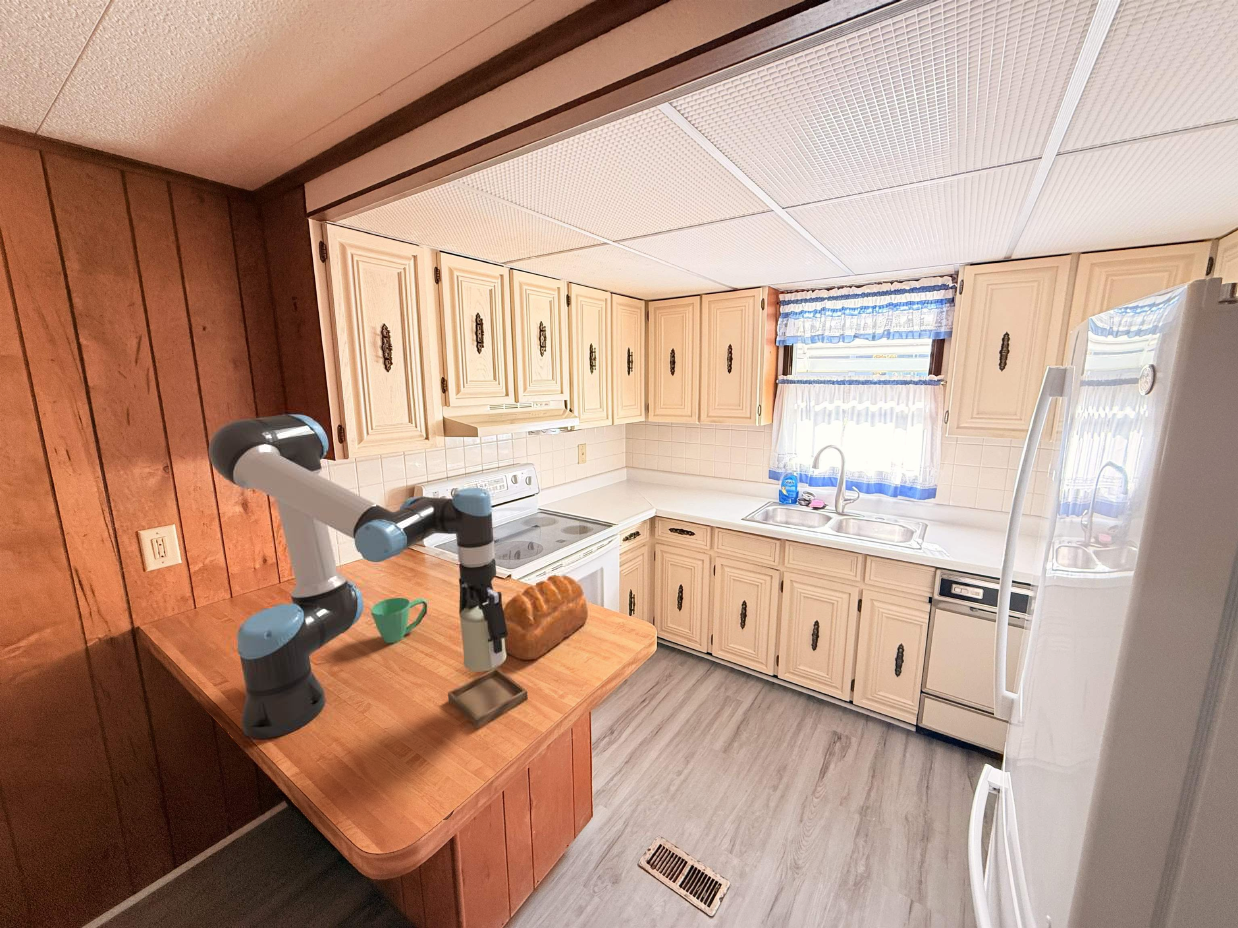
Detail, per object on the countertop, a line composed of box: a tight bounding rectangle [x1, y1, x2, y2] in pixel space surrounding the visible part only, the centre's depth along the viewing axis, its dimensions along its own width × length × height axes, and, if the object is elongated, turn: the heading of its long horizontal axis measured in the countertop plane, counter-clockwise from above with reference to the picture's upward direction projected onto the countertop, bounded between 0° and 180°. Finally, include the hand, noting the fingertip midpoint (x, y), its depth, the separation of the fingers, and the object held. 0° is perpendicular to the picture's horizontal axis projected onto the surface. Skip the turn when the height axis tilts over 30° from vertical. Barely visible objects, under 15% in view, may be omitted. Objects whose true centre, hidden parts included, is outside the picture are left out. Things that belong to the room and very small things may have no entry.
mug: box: [370, 597, 428, 644], centre depth 136 cm, size 15×10×10 cm
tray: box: [447, 667, 528, 730], centre depth 109 cm, size 13×13×2 cm
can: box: [459, 602, 507, 673], centre depth 106 cm, size 9×9×12 cm
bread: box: [503, 574, 589, 661], centre depth 135 cm, size 14×26×16 cm, turn 147°
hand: (485, 655), depth 107 cm, fingers closed on can, 9 cm apart
